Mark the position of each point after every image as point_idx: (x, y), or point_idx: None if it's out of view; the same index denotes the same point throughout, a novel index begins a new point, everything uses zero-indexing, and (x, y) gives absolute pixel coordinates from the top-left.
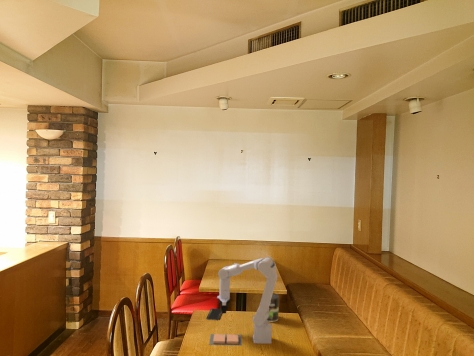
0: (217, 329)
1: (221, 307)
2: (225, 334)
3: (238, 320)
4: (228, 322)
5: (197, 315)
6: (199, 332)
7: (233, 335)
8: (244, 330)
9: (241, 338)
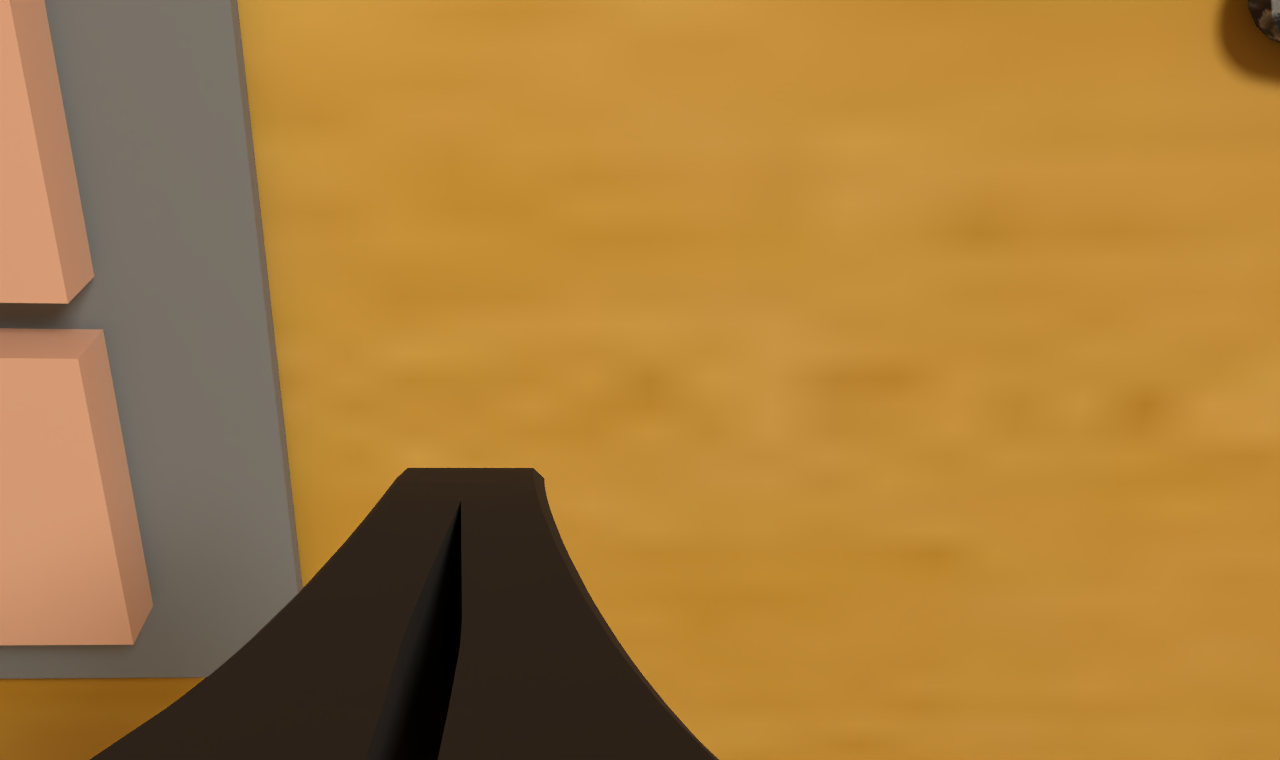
0: (620, 8)
1: (209, 690)
2: (253, 279)
3: (1138, 601)
4: (1065, 349)
5: None
6: None
7: (57, 532)
8: None
9: (102, 671)
